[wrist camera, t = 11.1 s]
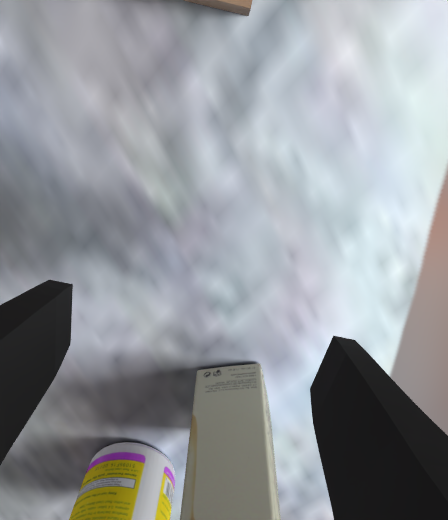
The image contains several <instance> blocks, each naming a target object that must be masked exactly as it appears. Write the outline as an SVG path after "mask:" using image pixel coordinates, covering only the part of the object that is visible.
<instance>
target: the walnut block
mask: <svg viewBox="0 0 448 520" xmlns="http://www.w3.org/2000/svg"><path fill="white" fill-rule="evenodd" d="M184 1H188V2H192V3H196V4H201V5H205V6H209V7H213V8H217V9H221V10H226V11H230V12H234V13H238V14H242V15H246V16H249V12H250V9H251V4H252V0H184Z"/></svg>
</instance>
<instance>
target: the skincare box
mask: <svg viewBox="0 0 448 520" xmlns="http://www.w3.org/2000/svg"><path fill="white" fill-rule="evenodd" d="M180 520H281V519H280V509H279V499H278V489H277V479H276V468H275V458H274V448H273V437H272V426H271V418H270V410H269V404H268V398H267V393H266V387H265V382H264V377H263V373H262V368H261V365H260V364H249V365H237V366H228V367H218V368H210V369H203V370H198V371H197V376H196V384H195V394H194V403H193V411H192V421H191V429H190V437H189V445H188V454H187V463H186V473H185V481H184V489H183V498H182V507H181V516H180Z"/></svg>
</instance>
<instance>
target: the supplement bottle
mask: <svg viewBox="0 0 448 520" xmlns="http://www.w3.org/2000/svg"><path fill="white" fill-rule="evenodd" d="M174 486H175V471H174V467H173V465H172V463H171V462H170V460H169V459H168V458H167V457H166V456H165V455H164V454H162V453H161V452H159V451H158V450H156V449H154V448H152V447H150V446H147V445H144V444H139V443H132V442H123V443H116V444H113V445H109V446H107V447H105V448H103V449H101V450H100V451H99V452H98V453H96V455H95V456H94V457H93V458H92V460H91V462H90V464H89V467H88V469H87V472H86V475H85V477H84V480H83V483H82V486H81V488H80V491H79V494H78V497H77V500H76V502H75V505H74V508H73V510H72V513H71V516H70V519H69V520H170V514H171V508H172V500H173V494H174Z"/></svg>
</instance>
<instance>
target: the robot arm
mask: <svg viewBox="0 0 448 520" xmlns="http://www.w3.org/2000/svg"><path fill="white" fill-rule="evenodd" d="M72 287H73V284H68V283H63V282H58V281H53V280H48V281H46V282H44V283H42V284H40V285H38V286H36V287H34V288H32V289H30V290H28V291H26V292H25V293H23V294H21V295H19V296H17V297H15V298H13V299H11V300H9V301H8V302H6V303H4V304H2V305H0V465H1V463H2V461H3V460H4V458H5V456H6V455H7V453H8V451H9V450H10V448H11V447H12V445H13V443H14V442H15V440H16V439H17V437H18V436H19V434H20V432H21V431H22V429H23V428H24V426H25V424H26V423H27V421H28V420H29V418H30V417H31V415H32V413H33V412H34V410H35V409H36V407H37V405H38V404H39V402H40V401H41V399H42V397H43V396H44V394H45V393H46V391H47V389H48V388H49V386H50V385H51V383H52V381H53V380H54V378H55V376H56V374H57V372H58V370H59V368H60V366H61V364H62V362H63V359H64V357H65V355H66V353H67V350H68V348H69V346H70V341H71V314H72ZM310 393H311V407H312V417H313V425H314V430H315V435H316V439H317V444H318V448H319V453H320V457H321V462H322V466H323V470H324V475H325V479H326V484H327V488H328V493H329V497H330V501H331V506H332V511H333V516H334V520H448V436H447V435H446V434H445V433H444V432H443V431H442V430H441V429H440V428H439V427H438V426H437V425H436V424H435V423H434V422H433V421H432V420H431V419H430V418H429V417H428V416H427V415H426V414H425V413H424V412H423V411H422V410H421V409H420V408H419V407H418V406H417V405H416V404H415V403H414V402H413V401H412V400H411V399H410V398H409V397H408V396H407V395H406V394H405V393H404V392H403V391H402V390H401V389H400V387H399V386H398V385H397V384H396V383H395V382H394V381H393V380H392V379H391V378H390V377H389V376H388V374H387V373H386V372H385V371H384V370H383V369H382V368H381V367H380V366H379V365H378V364H377V363H376V361H375V360H374V359H373V358H372V357H371V356H370V355H369V354H368V353H367V352H366V351H365V350H364V349H363V348H362V347H361V346H360V345H359V344H358V343H357V342H356V341H355V340H352V339H347V338H342V337H337V336H333V338H332V340H331V343H330V345H329V347H328V349H327V352H326V354H325V356H324V358H323V361H322V363H321V365H320V368H319V370H318V372H317V374H316V377H315V379H314V381H313V383H312V386H311V388H310Z"/></svg>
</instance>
